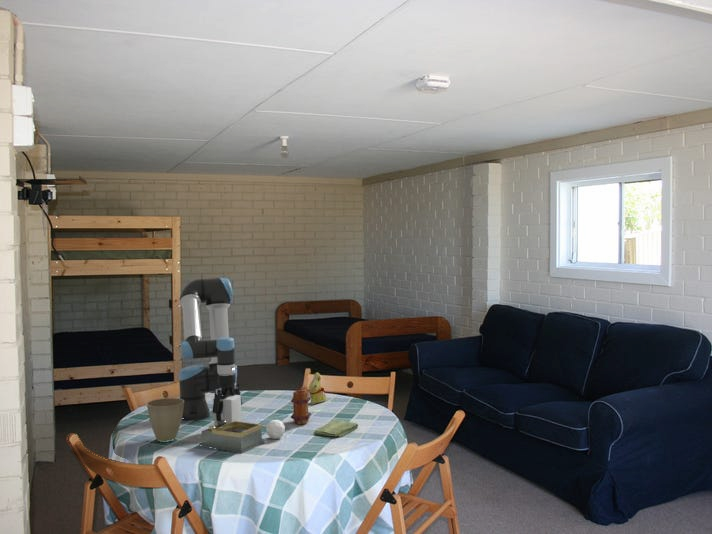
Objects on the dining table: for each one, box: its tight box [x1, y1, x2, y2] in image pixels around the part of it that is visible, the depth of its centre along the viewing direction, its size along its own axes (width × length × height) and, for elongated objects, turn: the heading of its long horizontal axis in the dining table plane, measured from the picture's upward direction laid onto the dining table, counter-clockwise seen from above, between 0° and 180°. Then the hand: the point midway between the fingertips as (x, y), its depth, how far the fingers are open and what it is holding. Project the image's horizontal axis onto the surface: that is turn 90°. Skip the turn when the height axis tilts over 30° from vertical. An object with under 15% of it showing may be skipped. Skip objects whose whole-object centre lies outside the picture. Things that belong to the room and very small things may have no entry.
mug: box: [290, 385, 312, 425], centre depth 305 cm, size 15×8×15 cm, turn 168°
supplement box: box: [212, 395, 243, 426], centre depth 293 cm, size 9×9×15 cm
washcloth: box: [313, 419, 359, 438], centre depth 289 cm, size 13×18×3 cm
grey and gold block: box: [198, 420, 266, 454], centre depth 274 cm, size 22×15×8 cm
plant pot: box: [146, 397, 184, 441], centre depth 282 cm, size 15×15×16 cm
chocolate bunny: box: [308, 372, 327, 405], centre depth 339 cm, size 7×11×15 cm, turn 139°
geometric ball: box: [265, 419, 286, 440], centre depth 281 cm, size 8×8×8 cm
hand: (228, 425), depth 293 cm, fingers closed on supplement box, 10 cm apart
